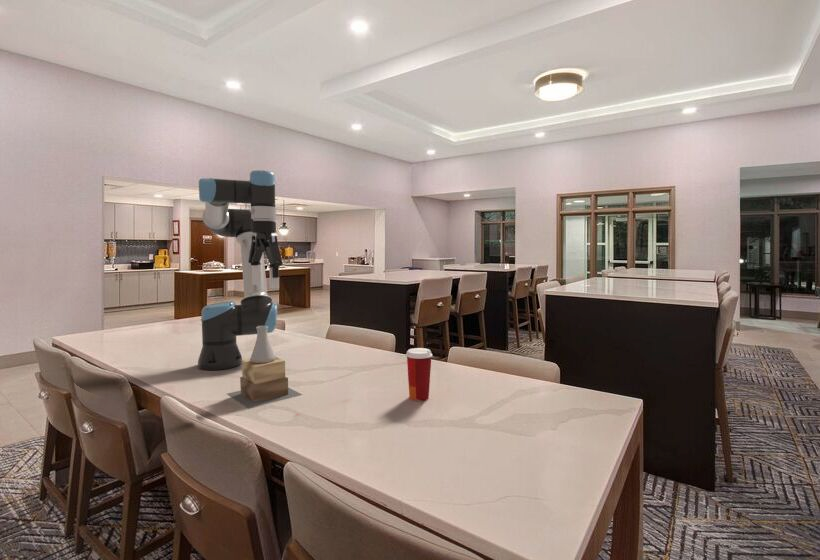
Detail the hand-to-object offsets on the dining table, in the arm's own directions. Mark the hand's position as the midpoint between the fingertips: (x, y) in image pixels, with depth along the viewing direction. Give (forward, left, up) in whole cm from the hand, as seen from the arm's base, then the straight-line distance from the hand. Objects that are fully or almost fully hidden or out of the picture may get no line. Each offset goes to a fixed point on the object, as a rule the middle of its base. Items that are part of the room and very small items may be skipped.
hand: (265, 286), depth 140 cm
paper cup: (+46, +25, -31) cm, 61 cm away
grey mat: (+15, -8, -31) cm, 35 cm away
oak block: (+15, -8, -25) cm, 30 cm away
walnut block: (+15, -8, -30) cm, 34 cm away
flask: (+14, -8, -20) cm, 26 cm away
